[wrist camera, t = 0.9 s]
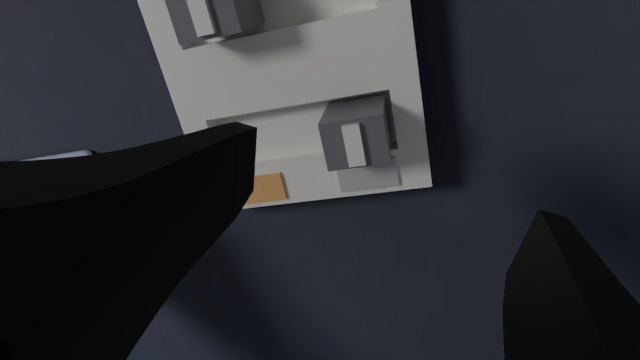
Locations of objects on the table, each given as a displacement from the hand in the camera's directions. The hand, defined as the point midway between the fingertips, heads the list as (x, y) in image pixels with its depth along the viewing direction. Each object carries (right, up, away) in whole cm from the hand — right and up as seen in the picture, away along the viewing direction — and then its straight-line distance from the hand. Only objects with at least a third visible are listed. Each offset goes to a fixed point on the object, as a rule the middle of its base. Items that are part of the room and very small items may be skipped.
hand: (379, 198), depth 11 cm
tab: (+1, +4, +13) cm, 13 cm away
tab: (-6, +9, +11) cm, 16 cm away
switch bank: (-3, +7, +13) cm, 15 cm away
